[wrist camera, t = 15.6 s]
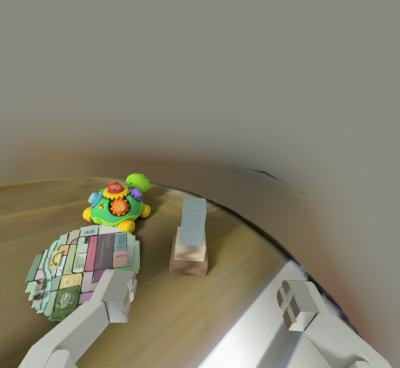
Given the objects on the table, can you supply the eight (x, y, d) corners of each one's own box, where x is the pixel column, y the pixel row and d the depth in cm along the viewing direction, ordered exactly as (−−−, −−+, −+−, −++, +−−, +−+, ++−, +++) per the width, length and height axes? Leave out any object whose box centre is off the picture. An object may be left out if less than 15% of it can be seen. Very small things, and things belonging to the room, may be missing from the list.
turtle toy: (163, 202, 71) (164, 174, 65) (123, 245, 51) (119, 211, 46) (125, 191, 75) (122, 164, 69) (74, 227, 55) (64, 194, 50)
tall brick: (179, 244, 43) (182, 210, 38) (181, 229, 48) (184, 196, 43) (201, 246, 44) (206, 212, 39) (201, 231, 48) (205, 198, 43)
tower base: (169, 274, 45) (169, 251, 41) (173, 245, 53) (174, 223, 49) (205, 276, 46) (210, 253, 42) (204, 247, 54) (208, 226, 50)
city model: (24, 367, 31) (10, 355, 27) (16, 257, 44) (7, 241, 41) (160, 283, 46) (162, 269, 43) (123, 221, 59) (123, 207, 56)
